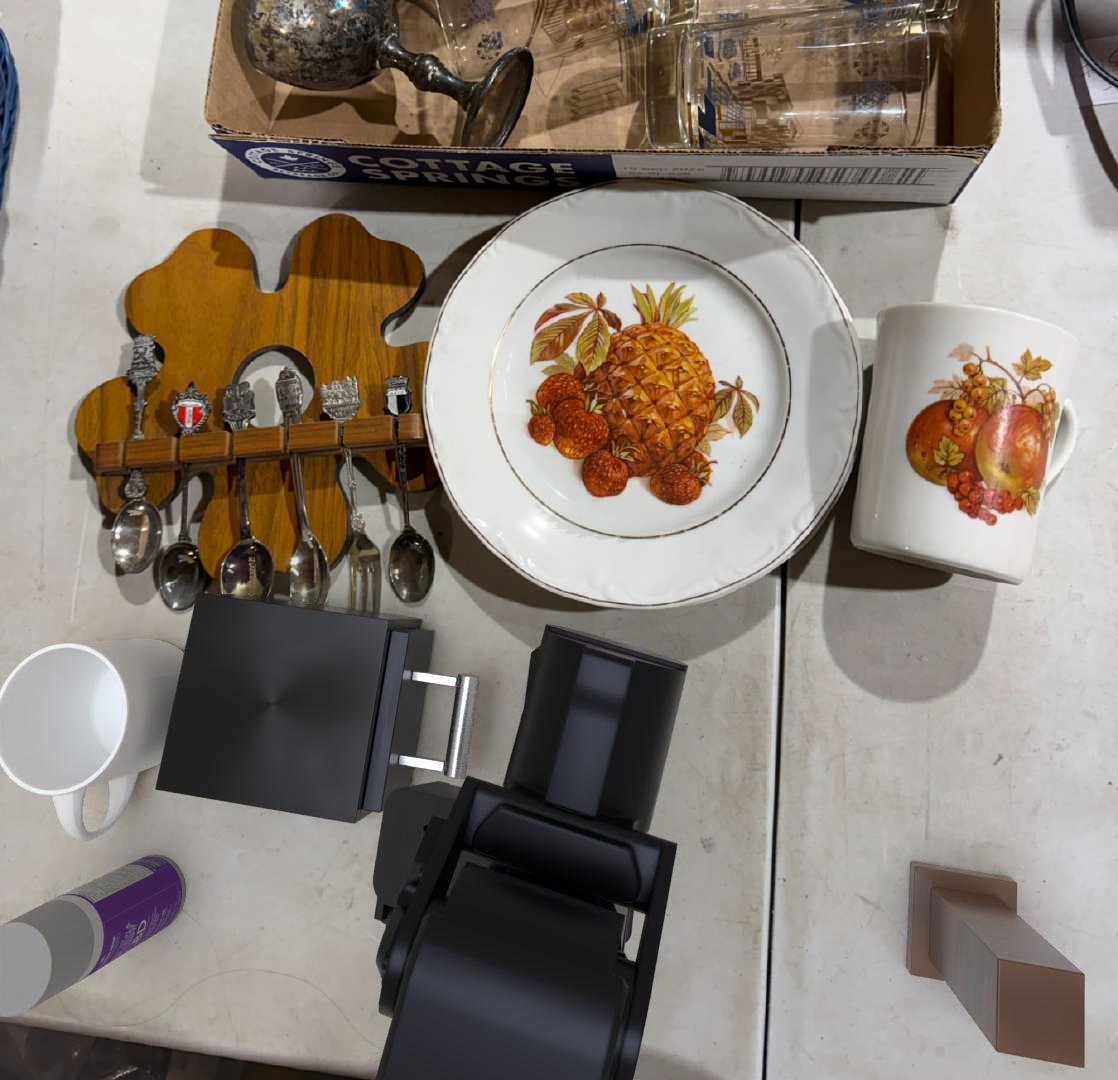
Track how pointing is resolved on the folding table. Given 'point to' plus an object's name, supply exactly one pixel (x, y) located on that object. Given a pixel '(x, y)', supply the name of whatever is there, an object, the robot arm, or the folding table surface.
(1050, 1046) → the stand
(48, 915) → the container
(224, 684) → the black drawer box
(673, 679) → the robot arm
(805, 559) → the folding table surface
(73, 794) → the mug
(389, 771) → the drawer with silver handle
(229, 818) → the folding table surface
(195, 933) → the folding table surface
